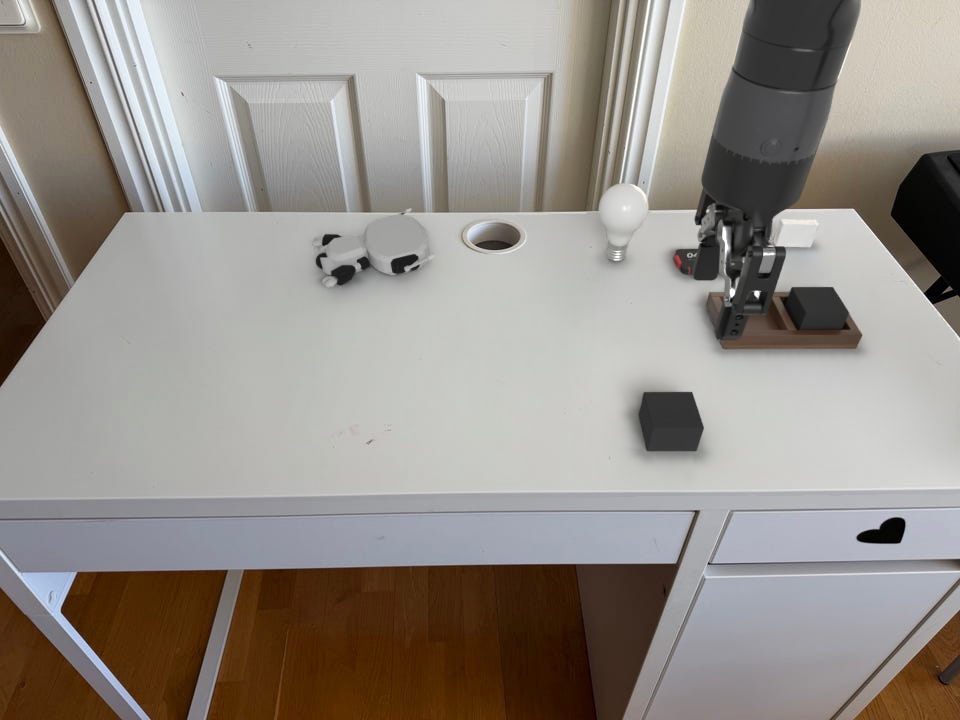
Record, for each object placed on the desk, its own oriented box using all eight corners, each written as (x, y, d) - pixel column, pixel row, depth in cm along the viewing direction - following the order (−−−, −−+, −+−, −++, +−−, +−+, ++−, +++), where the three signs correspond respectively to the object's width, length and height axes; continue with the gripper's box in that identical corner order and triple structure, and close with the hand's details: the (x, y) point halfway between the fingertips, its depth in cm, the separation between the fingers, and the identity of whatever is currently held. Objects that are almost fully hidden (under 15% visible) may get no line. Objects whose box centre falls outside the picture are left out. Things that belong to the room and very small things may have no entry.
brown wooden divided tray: (856, 348, 81) (863, 335, 80) (723, 349, 81) (727, 335, 80) (829, 304, 87) (835, 291, 86) (705, 305, 87) (709, 291, 86)
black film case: (681, 270, 91) (672, 249, 95) (680, 274, 92) (671, 253, 95) (752, 268, 92) (740, 247, 95) (751, 273, 92) (739, 251, 96)
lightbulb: (593, 272, 92) (604, 198, 85) (589, 245, 97) (599, 173, 89) (642, 273, 92) (656, 199, 85) (635, 246, 97) (648, 174, 89)
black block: (823, 309, 86) (833, 286, 83) (839, 335, 82) (849, 312, 80) (782, 309, 86) (791, 286, 83) (796, 336, 82) (806, 312, 80)
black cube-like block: (685, 414, 73) (692, 391, 71) (696, 451, 70) (704, 428, 67) (638, 415, 73) (643, 391, 71) (646, 451, 70) (652, 428, 67)
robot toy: (327, 307, 88) (441, 279, 91) (319, 279, 85) (437, 250, 87) (314, 255, 96) (418, 230, 99) (306, 227, 93) (414, 202, 96)
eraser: (810, 247, 97) (819, 224, 94) (775, 247, 97) (783, 224, 94) (807, 242, 98) (816, 219, 95) (772, 242, 98) (780, 219, 95)
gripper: (853, 181, 46) (780, 360, 57) (785, 95, 57) (735, 261, 68) (741, 180, 46) (689, 360, 57) (693, 95, 57) (657, 260, 68)
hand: (714, 306), depth 63 cm, fingers open, 8 cm apart
